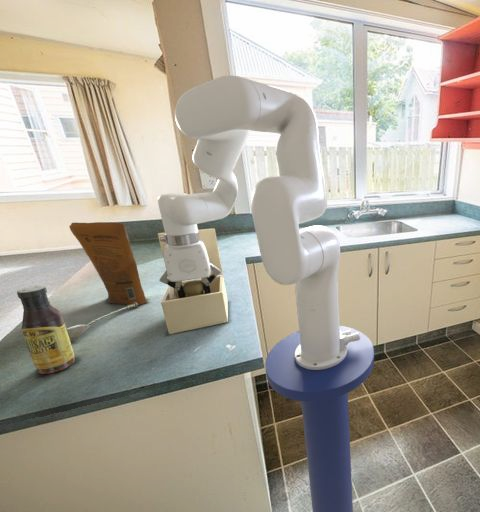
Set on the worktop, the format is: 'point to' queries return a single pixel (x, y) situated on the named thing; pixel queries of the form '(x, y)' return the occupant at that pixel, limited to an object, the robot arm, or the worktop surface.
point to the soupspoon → (80, 329)
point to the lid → (210, 244)
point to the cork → (193, 288)
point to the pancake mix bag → (111, 259)
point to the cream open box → (195, 308)
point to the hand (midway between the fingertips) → (196, 298)
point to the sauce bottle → (44, 331)
